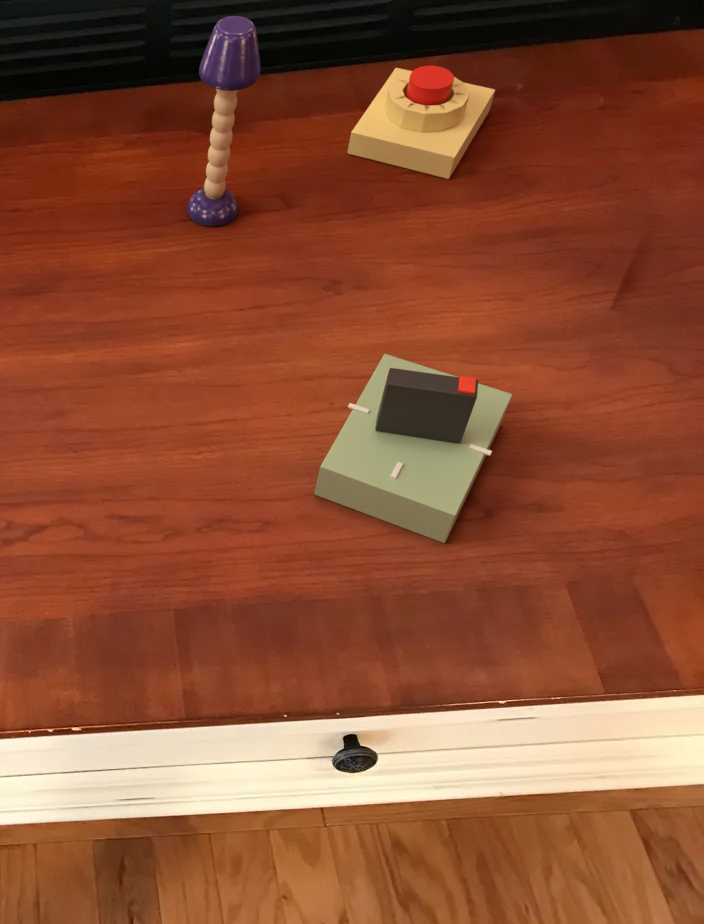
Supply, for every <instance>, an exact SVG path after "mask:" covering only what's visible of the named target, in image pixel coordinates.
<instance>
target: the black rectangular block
mask: <svg viewBox="0 0 704 924" xmlns="http://www.w3.org/2000/svg"><path fill="white" fill-rule="evenodd" d="M478 383H479V380H478V379H477V378H476V377H471V376H463V375H459V376H457V377H453V376H446V375H439V374H432V373H425V372H418V371H410V370H403V369H396V368H390V369H389V372H388V376H387V380H386V384H385V387H384V391H383V395H382V399H381V402H380V406H379V410H378V414H377V420H376V427H375V430H376V431H380V432H387V433H393V434H400V435H406V436H413V437H419V438H426V439H433V440H439V441H446V442H452V443H461V440H462V438H463V435H464V432H465V429H466V426H467V424H468V421H469V418H470V415H471V413H472V410H473V407H474V404H475V401H476V399H477V392H478Z"/></svg>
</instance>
